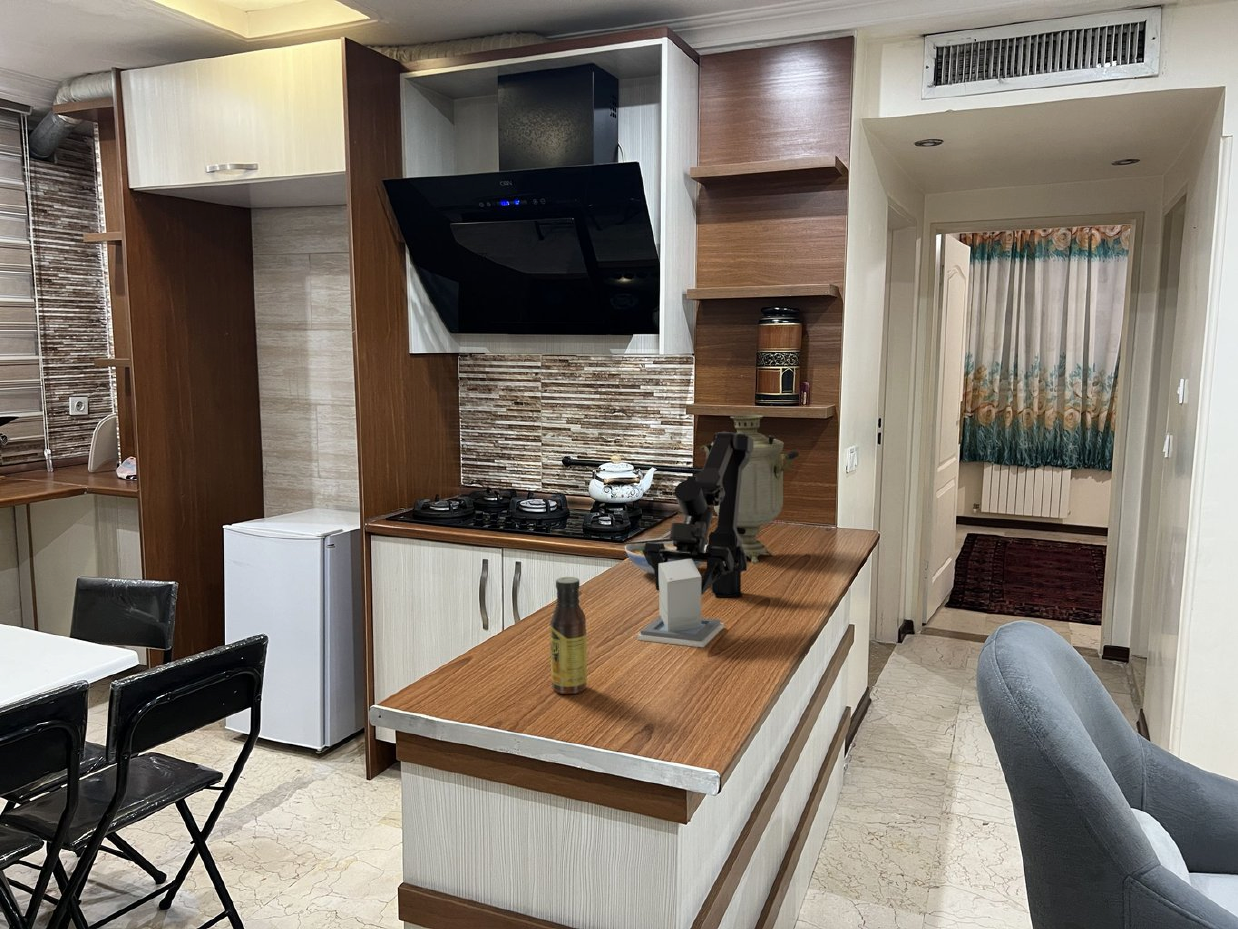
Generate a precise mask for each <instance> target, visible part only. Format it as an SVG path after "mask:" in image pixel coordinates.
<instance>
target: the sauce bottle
mask: <svg viewBox="0 0 1238 929" xmlns="http://www.w3.org/2000/svg"><path fill="white" fill-rule="evenodd" d="M580 585H581V584H580V579H579V578H578V577H574V576H563V577H562V576H561V577H559V578H558V579H556V580H555V587H556V605H555V608H554V611H553V614H552V618H551V621H550V626H549V627H550V628H549V632H550V634H549V636H550V638H549V639H550V680H551V687H552V689H553V690H554V691H555V692H556V693H557V694H561V695H562V694H563V695H572V694H573V695H575V694H580V693H582V692H583V691H584V690H585V689H586V687H587V681H588V670H587V669H588V668H587V666H588V665H587V664H588V663H587V662H588V661H587V658H588V656H587V654H588V653H587V630H586V629H587V627H586V623H587V622H586V615H585V612H584V610H583V609H582V608H581V606H580V605H579V604H580V600H579V590H580Z"/></svg>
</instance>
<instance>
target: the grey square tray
mask: <svg viewBox="0 0 1238 929" xmlns="http://www.w3.org/2000/svg"><path fill="white" fill-rule="evenodd" d="M723 629H724V623H723V622H721V619H715V618H705V617H701V627H700V628H695V629H689V630H683V631H676V632H672V631H667V629H666V627H665V625H664V622H663V620H662V618H661V616H660V615H659V616H658V617H656V618H655V619H654V620H652V622H650V623H649V624H647V625H646V626H644V627H643V628H642V629H641V630H640V633H638V634H637V641H644V642H645V641H646V642H653V643H662V644H663V643H664V644H670V645H680V646H688V647H696V648H705V646H707V644H708V643H709V642H711V641H712V640H713V639H714V638H715V637H716V635H718V634H719V632H721V631H722V630H723Z"/></svg>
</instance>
